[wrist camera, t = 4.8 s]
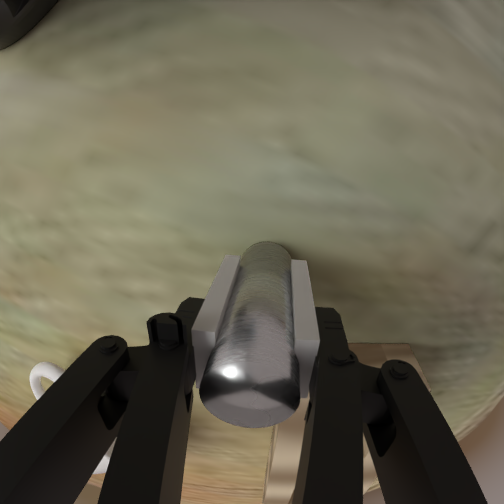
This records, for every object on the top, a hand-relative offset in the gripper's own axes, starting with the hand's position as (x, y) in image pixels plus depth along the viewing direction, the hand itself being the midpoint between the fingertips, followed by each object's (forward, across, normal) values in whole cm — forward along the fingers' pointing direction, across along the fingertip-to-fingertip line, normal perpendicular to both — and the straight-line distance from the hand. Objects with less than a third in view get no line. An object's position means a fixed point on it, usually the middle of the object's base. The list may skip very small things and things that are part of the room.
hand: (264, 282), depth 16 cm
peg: (+2, 0, 0) cm, 2 cm away
